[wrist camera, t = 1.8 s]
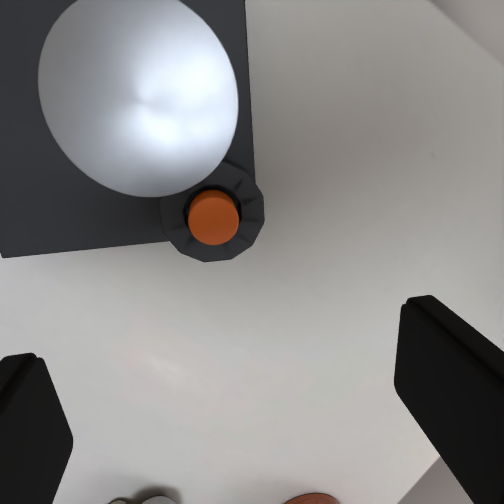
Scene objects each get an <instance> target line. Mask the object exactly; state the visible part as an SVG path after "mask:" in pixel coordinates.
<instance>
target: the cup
mask: <svg viewBox="0 0 504 504" xmlns="http://www.w3.org/2000/svg"><path fill="white" fill-rule="evenodd" d="M285 504H339V502H338V501H337V500H336V499H335V498H333V497H331V496H329V495H325V494H307V495H302V496H299V497H297V498H294V499H292V500H290V501H288V502H287V503H285Z"/></svg>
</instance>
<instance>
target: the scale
mask: <svg viewBox="0 0 504 504" xmlns="http://www.w3.org/2000/svg"><path fill="white" fill-rule="evenodd" d="M76 1H77V0H0V253H1V256H2V258H10V257H20V256H30V255H40V254H49V253H59V252H69V251H78V250H88V249H98V248H107V247H117V246H127V245H137V244H146V243H156V242H166V241H171V243H172V244H173V245H174V246H175V247H176V249H177V250H178V251H179V252H180V253H182V254H184V255H187V256H189V257H192V258H195V259H197V260H200V261H202V262H212V261H221V260H230V259H233V258H234V257H236V256H237V255H239V254H240V253H242V252H243V251H245V250H246V249H248V248H249V247H251V246H252V245H253V243H254V242H255V240H256V238H257V236H258V234H259V232H260V230H261V228H262V226H263V224H264V221H265V220H264V200H263V195H262V193H261V191H260V190H259V188H258V187H257V185H256V184H255V167H254V150H253V132H252V115H251V98H250V80H249V63H248V46H247V29H246V11H245V0H179V1H181V2H182V3H184V4H185V5H187V6H188V7H190V8H191V9H193V10H194V11H195V12H196V13H197V14H198V15H199V16H200V17H201V18H203V19H204V20H205V22H206V23H207V24H208V25H209V26H210V27H211V28H212V30H213V31H214V32H215V34H216V35H217V37H218V38H219V40H220V41H221V43H222V44H223V46H224V48H225V50H226V52H227V54H228V56H229V58H230V61H231V64H232V66H233V69H234V73H235V77H236V81H237V87H238V95H239V113H238V122H237V126H236V130H235V134H234V137H233V140H232V142H231V145H230V147H229V149H228V151H227V153H226V155H225V157H224V158H223V159H222V161H221V162H220V164H219V165H218V166H217V167H216V168H215V169H214V170H213V172H212V173H211V174H210V175H208V176H207V177H206V178H205V179H204V180H202V181H201V182H199V183H198V184H196V185H195V186H193V187H191V188H189V189H187V190H184V191H182V192H179V193H176V194H173V195H168V196H162V197H139V196H132V195H128V194H123V193H120V192H117V191H115V190H112V189H110V188H107V187H105V186H103V185H101V184H99V183H98V182H96V181H95V180H93V179H92V178H90V177H88V176H87V175H86V174H85V173H84V172H82V171H81V170H80V169H79V168H77V166H76V165H75V164H74V163H73V162H72V161H71V160H70V159H69V158H68V157H67V156H66V155H65V153H64V152H63V151H62V149H61V148H60V147H59V145H58V144H57V142H56V140H55V139H54V137H53V135H52V133H51V131H50V129H49V127H48V125H47V123H46V120H45V117H44V114H43V111H42V107H41V102H40V98H39V90H38V67H39V61H40V56H41V51H42V48H43V45H44V43H45V40H46V37H47V35H48V33H49V32H50V30H51V28H52V26H53V24H54V23H55V22H56V21H57V19H58V18H59V17H60V15H61V14H62V13H63V12H64V11H65V10H66V9H67V8H68V7H69V6H70V5H71V4H73V3H74V2H76ZM206 190H219V191H222V192H224V193H226V194H227V195H228V196H229V197H230V198H231V199H232V201H233V202H234V204H235V207H236V210H237V213H238V216H239V225H238V229H237V231H236V233H235V235H234V236H233V237H232V238H231V239H230V240H228V241H227V242H225V243H223V244H219V245H208V244H205V243H202V242H200V241H199V240H197V239H196V238H195V237H194V236H193V234H192V233H191V231H190V228H189V224H188V218H189V209H190V205H191V202H192V201H193V199H194V198H195V197H196V196H197V195H198V194H199V193H201V192H203V191H206Z"/></svg>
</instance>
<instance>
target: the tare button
mask: <svg viewBox="0 0 504 504" xmlns="http://www.w3.org/2000/svg"><path fill="white" fill-rule="evenodd" d="M188 224H189V228H190V231H191V233H192V234H193V236H194V237H195V238H196V239H197V240H199V241H200V242H202V243H205V244H208V245H219V244H223V243H225V242H227V241H228V240H230V239H231V238H232V237H233V236H234V235H235V233H236V231H237V229H238V225H239V216H238V213H237V210H236V207H235V204H234V202H233V201H232V199H231V198H230V197H229V196H228V195H227V194H226V193H224V192H222V191H219V190H206V191H203V192H201V193H199V194H198V195H197V196H196V197H195V198H194V199H193V201H192V202H191V205H190V209H189V218H188Z"/></svg>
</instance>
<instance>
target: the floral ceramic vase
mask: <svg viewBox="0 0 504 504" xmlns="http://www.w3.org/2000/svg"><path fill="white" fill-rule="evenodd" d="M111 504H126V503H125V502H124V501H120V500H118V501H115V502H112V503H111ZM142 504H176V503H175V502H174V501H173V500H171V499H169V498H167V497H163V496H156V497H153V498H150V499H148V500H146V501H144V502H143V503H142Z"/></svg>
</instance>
